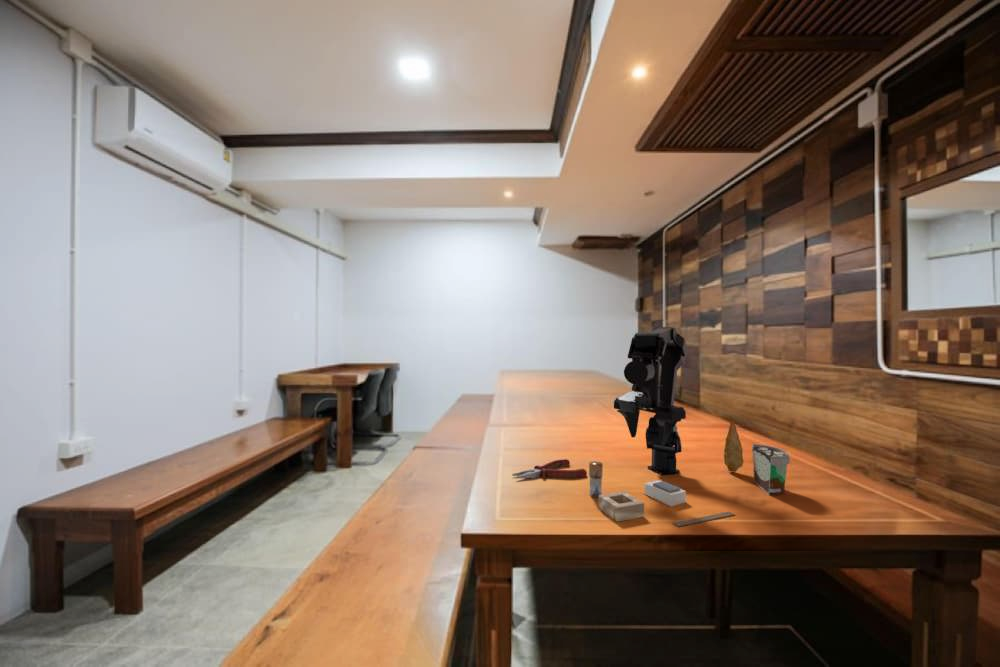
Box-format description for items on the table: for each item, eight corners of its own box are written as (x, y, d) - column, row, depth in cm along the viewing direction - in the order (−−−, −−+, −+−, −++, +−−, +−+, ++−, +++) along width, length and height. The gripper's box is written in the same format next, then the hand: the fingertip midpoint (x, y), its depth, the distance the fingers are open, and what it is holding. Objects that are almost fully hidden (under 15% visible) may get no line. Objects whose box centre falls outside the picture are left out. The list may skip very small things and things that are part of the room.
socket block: (598, 508, 95) (598, 495, 95) (624, 504, 97) (624, 491, 97) (617, 521, 88) (617, 507, 88) (644, 516, 91) (644, 503, 91)
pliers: (506, 473, 119) (506, 464, 119) (567, 466, 126) (567, 457, 126) (522, 488, 108) (522, 478, 108) (588, 478, 115) (588, 469, 115)
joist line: (672, 523, 87) (672, 522, 87) (729, 512, 93) (729, 511, 93) (678, 526, 86) (678, 525, 86) (734, 515, 92) (734, 514, 92)
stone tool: (738, 470, 121) (738, 419, 121) (744, 473, 119) (744, 421, 118) (722, 471, 120) (722, 419, 120) (727, 474, 118) (728, 421, 118)
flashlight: (586, 494, 103) (586, 462, 103) (597, 492, 104) (597, 460, 104) (593, 499, 100) (593, 466, 100) (604, 497, 101) (605, 464, 101)
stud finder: (644, 495, 103) (644, 481, 103) (658, 491, 106) (658, 478, 106) (670, 507, 96) (671, 492, 96) (685, 503, 98) (685, 489, 98)
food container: (799, 499, 100) (800, 458, 100) (771, 497, 101) (772, 457, 101) (776, 481, 112) (777, 444, 112) (751, 479, 114) (752, 443, 113)
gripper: (599, 378, 111) (598, 436, 111) (656, 387, 95) (655, 455, 95) (628, 376, 116) (628, 432, 116) (687, 384, 100) (686, 448, 100)
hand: (647, 441), depth 107 cm, fingers open, 9 cm apart
